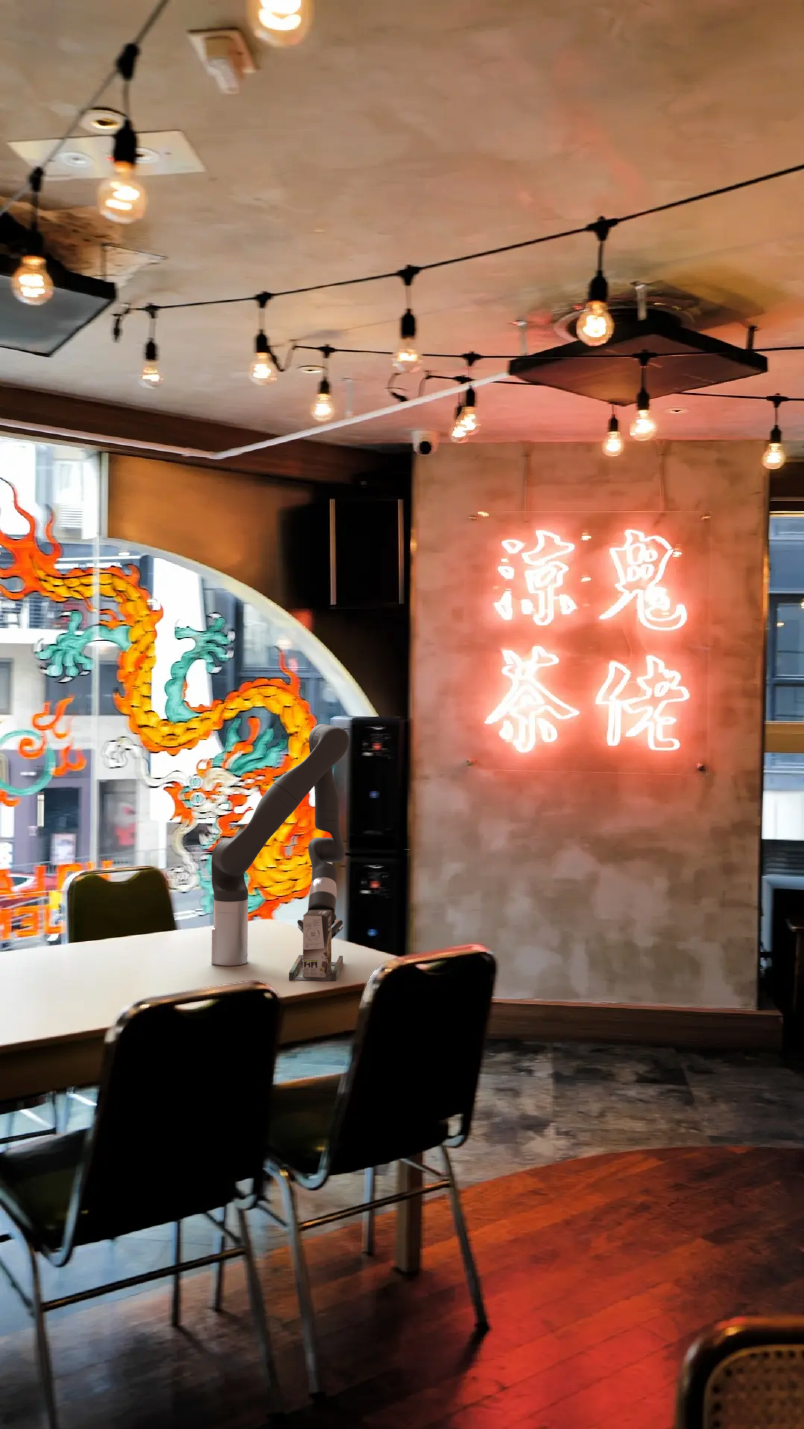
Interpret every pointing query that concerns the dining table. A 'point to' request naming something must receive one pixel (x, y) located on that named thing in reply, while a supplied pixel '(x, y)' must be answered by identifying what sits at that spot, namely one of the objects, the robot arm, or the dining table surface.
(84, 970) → the dining table surface
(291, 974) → the lane frame
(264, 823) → the robot arm
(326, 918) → the coffee box
